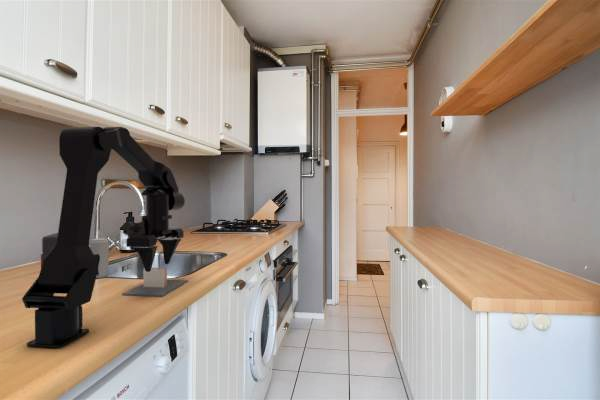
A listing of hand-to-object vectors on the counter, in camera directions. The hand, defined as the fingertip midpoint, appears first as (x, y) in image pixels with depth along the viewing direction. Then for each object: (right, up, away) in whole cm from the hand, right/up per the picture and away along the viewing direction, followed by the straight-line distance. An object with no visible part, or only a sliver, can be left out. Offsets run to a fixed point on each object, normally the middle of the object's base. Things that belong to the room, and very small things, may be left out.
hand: (157, 267), depth 86 cm
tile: (-1, -5, 0) cm, 5 cm away
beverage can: (-24, -6, +12) cm, 27 cm away
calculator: (-28, -6, 0) cm, 29 cm away
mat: (0, -6, 0) cm, 6 cm away
